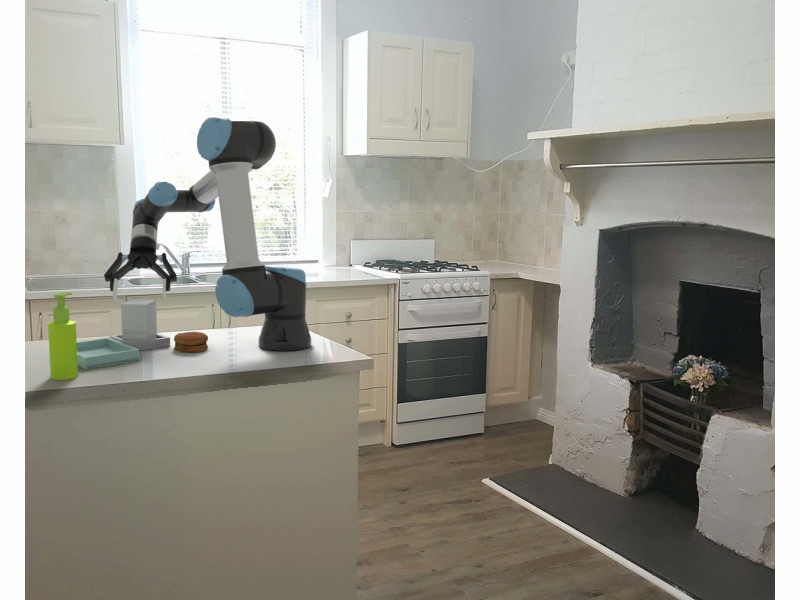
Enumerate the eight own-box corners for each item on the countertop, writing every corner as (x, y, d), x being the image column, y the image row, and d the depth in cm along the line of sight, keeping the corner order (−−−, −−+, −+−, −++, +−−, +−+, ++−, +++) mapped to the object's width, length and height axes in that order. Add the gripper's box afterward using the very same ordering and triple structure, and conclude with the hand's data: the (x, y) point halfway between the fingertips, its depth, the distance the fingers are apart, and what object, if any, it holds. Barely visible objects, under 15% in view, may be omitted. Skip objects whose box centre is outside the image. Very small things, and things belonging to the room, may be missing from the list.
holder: (170, 346, 205) (170, 337, 204) (129, 352, 196) (129, 343, 196) (150, 338, 213) (149, 330, 212) (110, 344, 204) (109, 335, 204)
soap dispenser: (83, 372, 175) (80, 291, 172) (71, 380, 168) (68, 295, 165) (59, 372, 175) (55, 290, 172) (46, 379, 168) (42, 295, 165)
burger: (209, 352, 199) (209, 336, 199) (174, 354, 196) (174, 337, 196) (207, 344, 209) (206, 329, 208) (173, 346, 206) (173, 330, 205)
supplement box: (158, 343, 208) (157, 300, 206) (147, 349, 201) (145, 304, 198) (133, 342, 208) (132, 298, 206) (121, 347, 201) (120, 303, 199)
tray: (139, 360, 188) (139, 349, 187) (85, 369, 178) (85, 357, 177) (109, 348, 200) (109, 337, 200) (57, 355, 190) (56, 344, 190)
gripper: (186, 250, 227) (184, 306, 215) (102, 250, 221) (95, 307, 209) (185, 235, 221) (183, 291, 209) (98, 234, 215) (91, 291, 203)
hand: (139, 299), depth 209 cm, fingers open, 13 cm apart
